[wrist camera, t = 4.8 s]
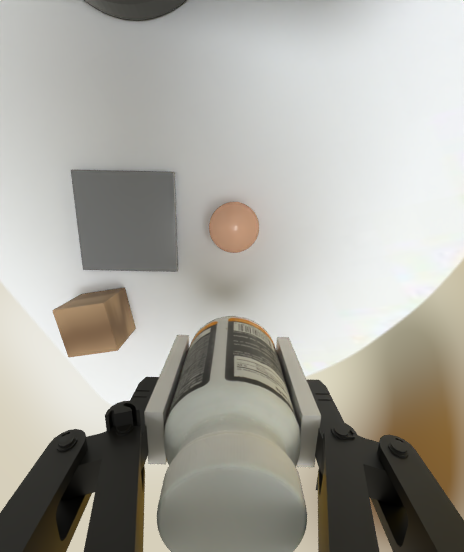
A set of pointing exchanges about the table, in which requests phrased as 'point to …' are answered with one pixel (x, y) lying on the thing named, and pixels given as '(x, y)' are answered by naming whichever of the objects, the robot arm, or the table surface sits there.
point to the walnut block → (95, 322)
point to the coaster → (126, 220)
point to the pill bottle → (232, 448)
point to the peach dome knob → (234, 227)
